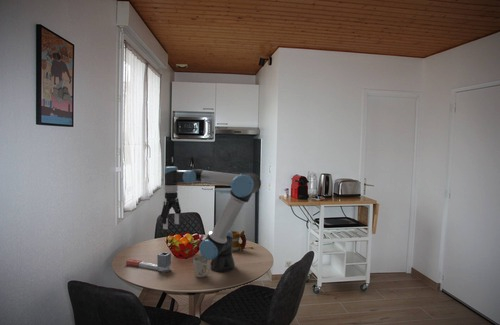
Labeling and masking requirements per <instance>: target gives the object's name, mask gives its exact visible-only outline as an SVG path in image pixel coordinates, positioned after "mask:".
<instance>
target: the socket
mask: <svg viewBox="0 0 500 325" xmlns="http://www.w3.org/2000/svg"><path fill="white" fill-rule="evenodd" d="M156 261H157V263H156V264H157V266H158V267H164V268H166V267H168V266H169V265H170V266H171V265H172V252H166V251H163V252H161V253H158V254H157V260H156Z"/></svg>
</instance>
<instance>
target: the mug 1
mask: <svg viewBox="0 0 500 325" xmlns="http://www.w3.org/2000/svg"><path fill="white" fill-rule="evenodd" d="M208 261H209V260H208V259H205V258H204V257H203V256H202V255H197V256H194V257H193V258H192V262H193V271H194V272H193V273H194V277H196V278H203V277H205V276H209V274H210V272H211V268H210V266H209V264H208Z"/></svg>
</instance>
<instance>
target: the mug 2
mask: <svg viewBox="0 0 500 325" xmlns="http://www.w3.org/2000/svg"><path fill="white" fill-rule="evenodd" d="M230 231H231V232H232V235H233V242H232V253H236V252H238V251H240V250H241V251H243V250H244V249H245V248H246V245H247V238H246V235H245V231H244V230H242V231H241V232H240V233H239V231H235V230H230ZM240 239H241V243H240Z"/></svg>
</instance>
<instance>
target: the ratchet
mask: <svg viewBox="0 0 500 325" xmlns="http://www.w3.org/2000/svg"><path fill="white" fill-rule="evenodd" d="M125 266H129V267H134V268H141V269H146V270H147V269H148V270H153V271H158V273H163V274H164V273H169V272H171V265H169V266H168V267H166V268H164V267H158V266H157V263H152V262H145V261H142V260H139V259H134V258H133V259H132V258H129V259H127V260H126V261H125Z"/></svg>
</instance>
